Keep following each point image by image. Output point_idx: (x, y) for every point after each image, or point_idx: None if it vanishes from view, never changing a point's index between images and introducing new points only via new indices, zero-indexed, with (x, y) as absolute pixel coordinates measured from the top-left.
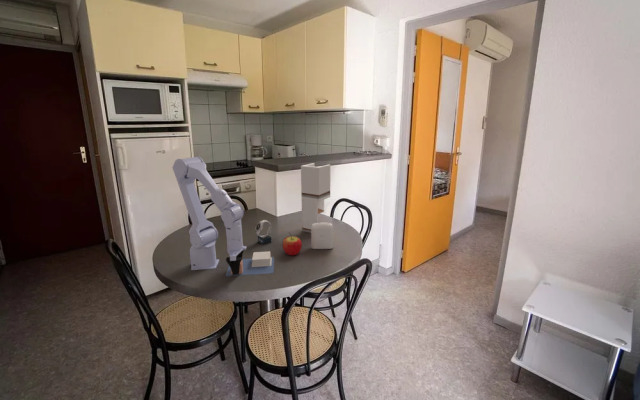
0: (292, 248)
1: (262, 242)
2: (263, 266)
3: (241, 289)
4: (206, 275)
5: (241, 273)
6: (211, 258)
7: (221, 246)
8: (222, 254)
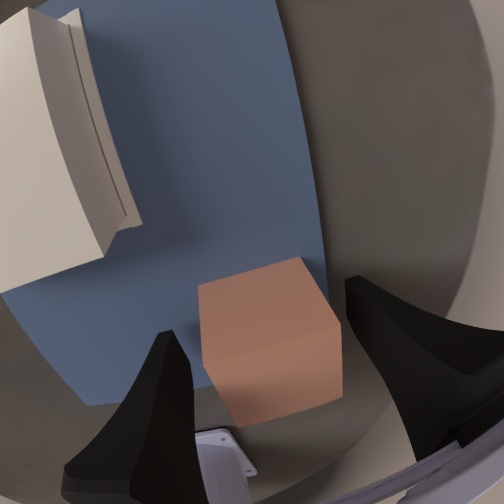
0: None
1: None
2: (98, 88)
3: (477, 178)
4: (297, 423)
5: (302, 263)
6: (220, 491)
7: (7, 447)
8: (55, 440)
